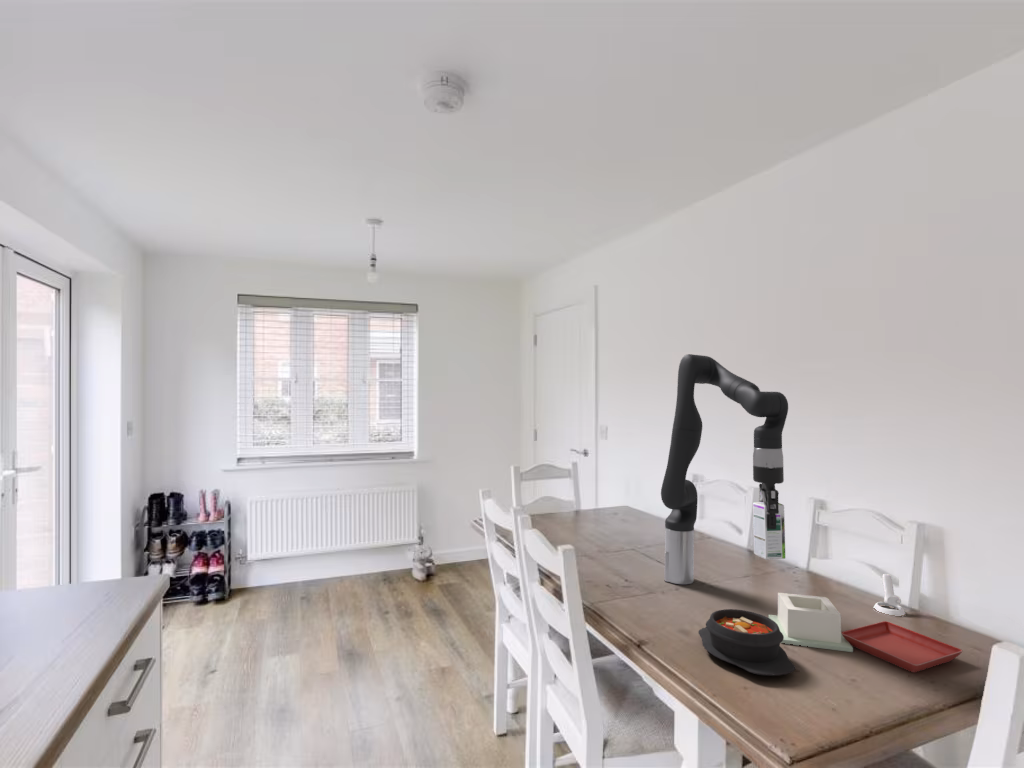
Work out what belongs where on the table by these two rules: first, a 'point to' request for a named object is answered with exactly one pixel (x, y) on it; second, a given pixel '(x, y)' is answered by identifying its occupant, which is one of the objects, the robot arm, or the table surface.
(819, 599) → the box
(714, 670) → the table surface
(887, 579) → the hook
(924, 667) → the plant saucer
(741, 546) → the table surface
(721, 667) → the table surface
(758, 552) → the syrup box
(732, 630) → the casserole
